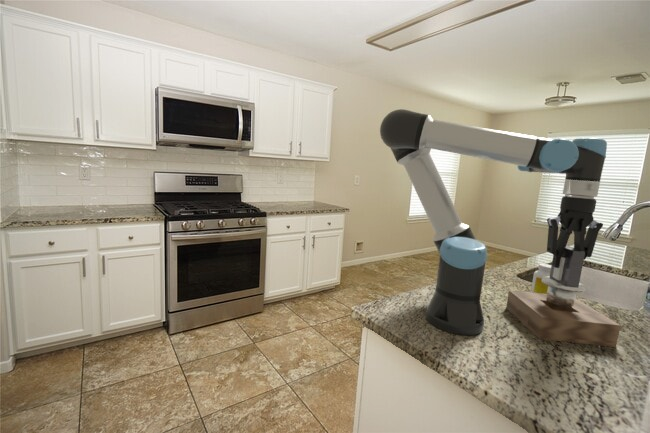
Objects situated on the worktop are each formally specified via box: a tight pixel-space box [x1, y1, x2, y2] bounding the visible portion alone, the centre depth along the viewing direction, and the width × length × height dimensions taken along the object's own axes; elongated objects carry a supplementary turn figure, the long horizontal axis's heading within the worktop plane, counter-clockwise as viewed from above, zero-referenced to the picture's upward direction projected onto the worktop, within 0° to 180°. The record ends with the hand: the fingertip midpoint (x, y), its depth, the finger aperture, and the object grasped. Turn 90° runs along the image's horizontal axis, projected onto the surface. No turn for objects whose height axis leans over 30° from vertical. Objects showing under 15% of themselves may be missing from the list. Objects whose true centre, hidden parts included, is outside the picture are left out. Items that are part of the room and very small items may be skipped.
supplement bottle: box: [530, 263, 552, 294], centre depth 111 cm, size 7×7×13 cm
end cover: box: [542, 244, 586, 307], centre depth 92 cm, size 10×10×16 cm
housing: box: [506, 290, 621, 348], centre depth 93 cm, size 19×19×6 cm
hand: (563, 279), depth 92 cm, fingers closed on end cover, 3 cm apart
